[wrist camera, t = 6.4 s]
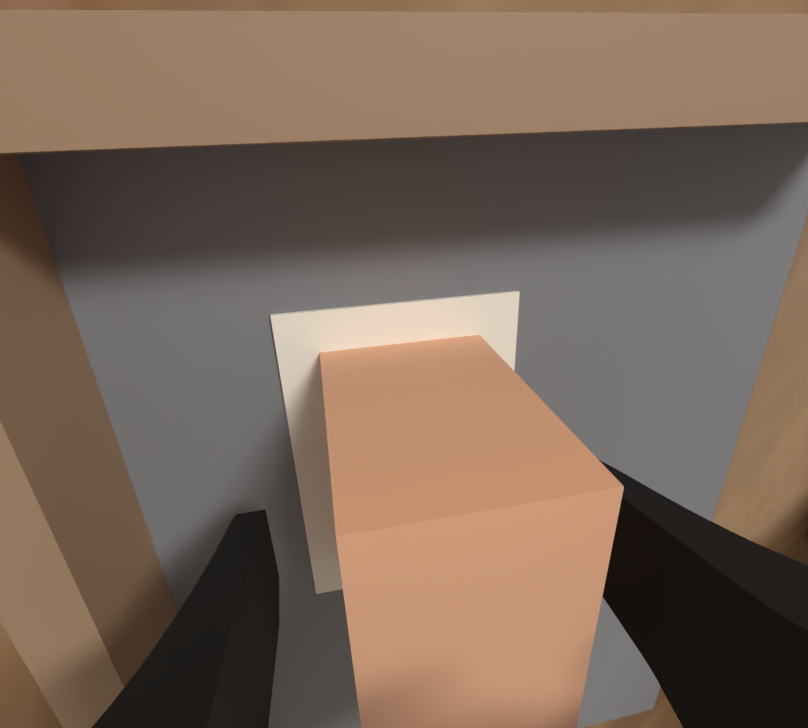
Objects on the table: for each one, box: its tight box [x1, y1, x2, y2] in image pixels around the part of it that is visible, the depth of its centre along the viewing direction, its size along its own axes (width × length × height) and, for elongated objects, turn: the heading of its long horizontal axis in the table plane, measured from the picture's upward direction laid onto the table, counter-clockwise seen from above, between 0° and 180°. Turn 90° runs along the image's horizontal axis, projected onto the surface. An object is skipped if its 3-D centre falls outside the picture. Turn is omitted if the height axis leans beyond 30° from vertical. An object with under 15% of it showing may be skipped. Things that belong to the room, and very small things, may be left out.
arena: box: [0, 10, 808, 728], centre depth 14 cm, size 20×26×4 cm
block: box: [320, 335, 624, 728], centre depth 10 cm, size 7×4×6 cm, turn 2°
